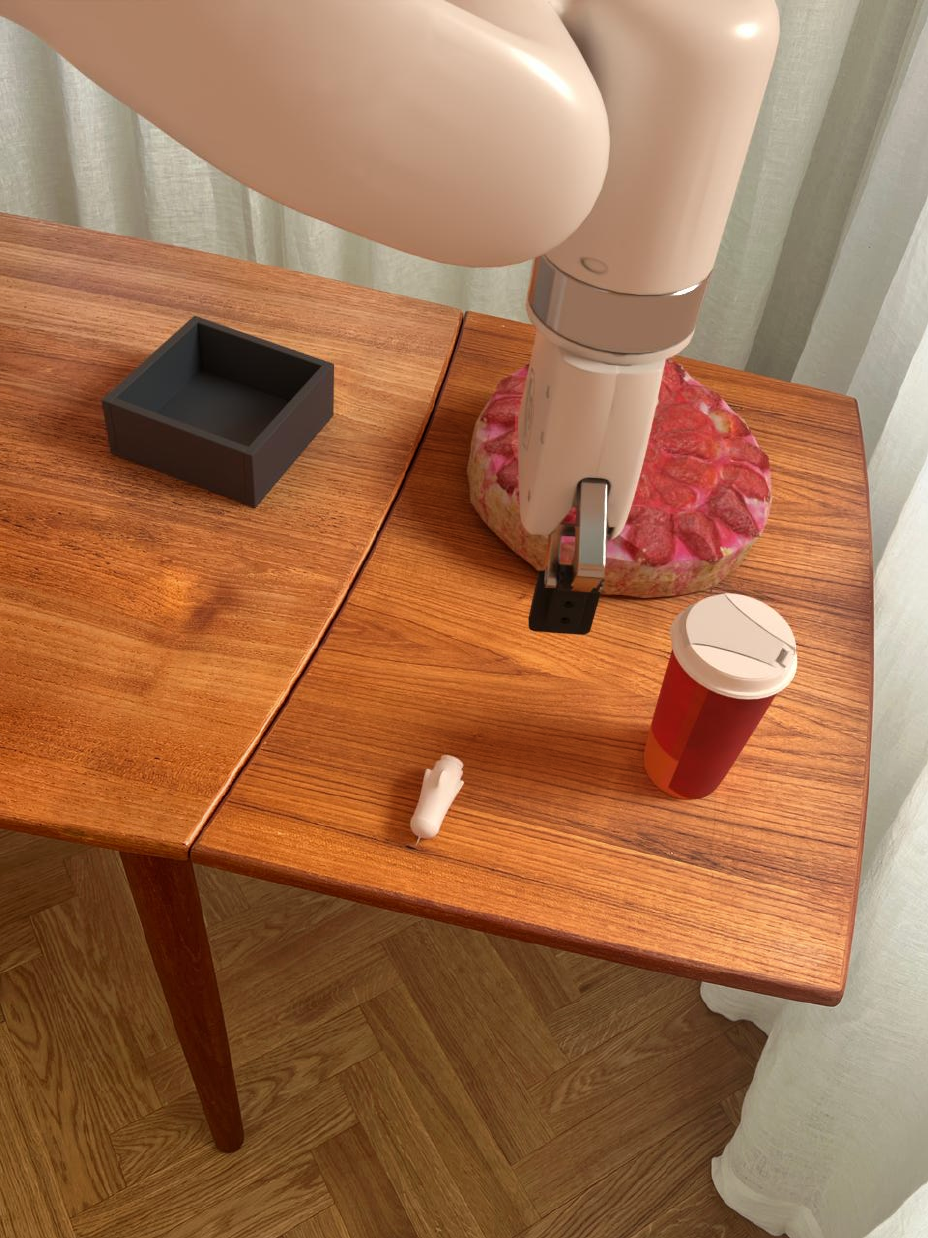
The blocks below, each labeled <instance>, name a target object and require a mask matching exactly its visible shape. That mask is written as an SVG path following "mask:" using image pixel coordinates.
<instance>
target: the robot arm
mask: <svg viewBox="0 0 928 1238" xmlns="http://www.w3.org/2000/svg"><path fill="white" fill-rule="evenodd" d="M0 17H2V18H5V19H6V20H7V21H10V22H12V23H14V24H15V25H17V26H20V27H21V28H24V29H25V30H28V31H29V32H31V33H32V34H33V35H35V36H36V37H38V38H39V39H41V40H42V41H43V42H44V43H45V44H46V45H48V46H49V47H50V48H52V50H53V51H55V52H56V53H57V54H59V56H61V57H62V58H63V59H64V60H65V61H67V62H68V63H69V64H70V65H72V66H73V67H74V68H75V69H76V70H78V71H79V73H81V74H82V75H83V76H85V77H86V78H87V79H89V80H90V81H91V82H92V83H94V84H95V85H96V86H98V87H99V88H100V89H101V90H103V91H105V92H106V93H107V94H109V95H110V96H111V97H113V98H114V99H116V100H118V101H119V102H120V103H121V104H122V105H125V106H126V107H127V108H129V109H131V110H132V111H133V112H134V113H136V114H138V115H140V116H141V117H143V118H144V119H145V120H147V121H148V122H149V123H150V124H152V125H153V126H155V127H156V128H157V129H159V130H160V131H162V132H163V133H164V134H166V135H167V136H169V137H170V138H171V139H173V140H174V141H175V142H177V143H178V144H180V145H181V146H182V147H184V148H185V149H187V150H188V151H189V152H191V153H192V154H194V155H196V157H198V158H200V159H202V160H203V161H204V162H206V163H207V164H209V165H211V166H212V167H214V168H215V169H217V170H218V171H220V172H221V173H223V174H225V175H227V176H228V177H230V178H232V179H233V180H235V181H237V182H238V183H240V184H242V185H244V186H245V187H247V188H248V189H251V190H253V191H254V192H256V193H258V194H261V195H262V196H263V197H266V198H268V199H270V200H272V201H274V202H276V203H277V204H279V205H282V206H285V207H287V208H289V209H291V210H294V211H295V212H297V213H300V214H302V215H305V216H307V217H310V218H313V219H315V220H318V221H320V222H322V223H323V222H324V223H326V224H329V225H330V226H333V227H336V228H337V229H340V230H344V231H347V232H349V233H351V234H354V235H356V236H359V237H362V238H365V239H367V240H370V241H373V242H375V243H378V244H380V245H383V246H386V247H388V248H391V249H394V250H397V251H399V252H403V253H405V254H408V255H412V256H415V257H418V258H421V259H425V260H427V261H432V262H436V263H440V264H444V265H451V266H458V267H464V268H473V269H477V268H479V269H480V268H482V269H484V268H485V269H486V268H503V267H509V266H515V265H519V264H522V263H525V262H528V261H530V260H532V261H531V268H530V275H529V281H528V286H527V292H526V298H525V310H526V314H527V317H528V318H529V321H530V323H531V324H532V325H533V326H534V328H535V330H536V331H535V336H534V339H533V346H532V350H531V351H532V352H531V355H530V360H529V363H530V364H529V363H528V364H529V369H528V374H527V378H526V383H525V387H524V392H523V396H522V401H521V406H520V412H519V420H518V469H519V498H520V516H521V522H522V524H523V526H524V528H525V529H526V530H527V531H528V532H529V533H530V534H532V535H535V534H538V535H545V536H548V543H547V554H546V565H545V570H543V571H541V570H539V571H537V576H536V580H535V585H534V591H533V595H532V599H531V603H530V609H529V613H528V619H527V621H528V622H527V623H528V629H529V630H530V631H532V632H537V633H549V634H550V633H551V634H564V635H578V636H585V635H588V634H589V633H590V632H591V630H592V626H593V623H594V619H595V616H596V612H597V609H598V605H599V601H600V597H601V595H602V594H601V591H602V588H603V583H604V573H605V563H606V553H607V543H608V540H609V541H611V540H613V539H614V538H616V537H617V536H618V535H619V534H620V533H621V532H622V530H623V528H624V526H625V523H626V521H627V518H628V515H629V512H630V509H631V506H632V502H633V499H634V496H635V492H636V488H637V484H638V481H639V477H640V473H641V469H642V465H643V461H644V457H645V453H646V449H647V445H648V440H649V436H650V432H651V427H652V423H653V418H654V414H655V409H656V407H657V405H658V395H659V390H660V386H661V381H662V376H663V371H664V366H665V361H666V359H668V360H669V359H670V358H673V357H675V356H676V355H678V354H680V353H681V352H683V350H685V348H687V346H688V345H689V344H690V343H691V341H692V339H693V338H694V337H693V336H694V333H695V330H696V327H697V324H698V320H699V317H700V314H701V310H702V308H703V307H702V306H703V303H704V301H705V297H706V293H707V290H708V287H709V284H710V280H711V277H712V273H713V270H714V266H715V263H716V259H717V255H718V253H719V249H720V245H721V242H722V239H723V235H724V232H725V229H726V226H727V221H728V218H729V215H730V211H731V209H732V205H733V201H734V198H735V194H736V193H737V188H738V186H739V185H738V184H739V182H740V178H741V174H742V172H743V167H744V165H745V161H746V157H747V155H748V151H749V147H750V144H751V140H752V138H753V133H754V131H755V127H756V123H757V120H758V117H759V113H760V110H761V107H762V103H763V100H764V96H765V94H766V90H767V86H768V82H769V79H770V76H771V72H772V70H773V66H774V62H775V58H776V55H777V50H778V45H779V41H780V34H781V23H780V22H781V21H780V11H779V9H778V6H777V2H776V0H0ZM572 508H576V523H568V522H562V520H563V519H564V518H565V517H566V516H567V514H568V513H569V512H570V511H571V509H572ZM562 536H570V537H575V550H574V557H573V560H572V564H571V565H565V564H559V563H560V552H561V542H562Z"/></svg>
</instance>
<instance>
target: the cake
mask: <svg viewBox="0 0 928 1238" xmlns="http://www.w3.org/2000/svg"><path fill="white" fill-rule="evenodd" d="M529 364H530V362H528V363H527V364H526V365H525V366H523V367H521V368H520V369H518V370H516V371H515V372H514V373H513V372H512V373H511V374H510V375H508V376H506V377H503V378H502V379H499V380H498V384H497V386H496V388H495V390H494V392H493V394H492V395H491V397H490V398H489V400H488V401H487V403H486V404H485V406H484V407H483V408H482V410H481V412H480V414H479V416H478V417H477V420H476V422H475V424H474V427H473V433H472V436H471V442H470V452H469V456H468V462H467V467H466V476H467V481H468V484H469V502H470V503H471V505H472V507H473V508H474V510H475V511H476V513H477V514H478V516H479V517H480V519H481V520H482V521H483V522H484V523H485V524H486V526H487V527H488V528H489V530H491V531H492V532H493V533H494V534H495V535H496V536H497V537H498V538H499V539H500V541H502V542H503V543H504V544H505V545H507V547H508V548H509V549H511V550H512V551H513V552H514V553H515V554H516V555H517V556H519V557H520V558H522V559H523V560H525V561H526V562H527V563H529V564H530V565H531V566H532V567H533V568H534V569H535V570H536V571H537V572H538V571H539V570H541V571H543V570H545V565H546V554H547V543H548V536H545V535H538V534H535V535H532V534H530V533H529V532H528V531H527V530H526V529H525V528H524V526H523V524H522V522H521V516H520V498H519V469H518V420H519V412H520V406H521V401H522V396H523V392H524V387H525V383H526V378H527V374H528V369H529ZM771 478H772V477H771V469H770V459H769V455H768V454H767V453H765V452H764V450H763V449H762V448H761V447H760V446H759V444H758V441H757V440H756V438H755V435H754V434H753V432H752V430H751V429H750V427H749V425H748V423H747V422H746V420H745V418H743V417H742V416H740V415H739V414H738V413H737V412H735V411H734V410H733V409H732V408H731V407H730V406H729V405H728V403H727V402H726V401H725V400H724V398H723V397H722V396H721V395H720V394H719V393H718V392H716V391H714V390H713V389H711V388H709V387H708V386H705V385H704V384H702V383H700V382H699V381H697V380H696V379H694V378H693V377H692V376H691V375H690V374H689V373H688V371H687V369H686V368H684V366H683V365H682V364H681V363H679V362H677V361H674V360H671V359H669V358H668V359H666V361H665V366H664V371H663V376H662V381H661V386H660V390H659V395H658V405H657V407H656V409H655V414H654V418H653V423H652V427H651V432H650V436H649V440H648V445H647V449H646V453H645V457H644V461H643V465H642V469H641V473H640V477H639V481H638V484H637V488H636V492H635V496H634V499H633V502H632V506H631V509H630V512H629V515H628V518H627V521H626V523H625V526H624V528H623V530H622V532H621V533H620V534H619V535H618V536H617V537H616V538H614V539H613V540H611V541H609V540H608V543H607V553H606V563H605V573H604V583H603V588H602V591H601V594H600V595H603V596H604V595H605V596H613V595H614V596H619V595H620V596H627V597H628V596H629V597H635V598H640V599H641V598H642V599H648V598H649V599H650V598H660V597H661V598H662V597H672V596H682V595H686V594H693V593H697V592H701V591H705V590H709V589H713V588H715V587H717V585H718V584H720V582H722V581H723V580H724V579H725V578H726V577H727V576H728V575H729V574H731V573H732V572H734V571H735V570H736V569H738V568H739V567H740V566H741V565H742V562H743V561H744V559H745V557H746V556H747V555H748V553H749V552H750V550H751V549H752V548H753V546H754V545H755V544H756V543H757V542H758V540H759V539H760V538H761V537H762V534H763V532H764V529H765V527H766V525H767V522H768V519H769V516H770V513H771V509H772V508H771V507H772V502H773V487H772V479H771ZM562 522H568V523H576V508H572V509H571V511H570V512H569V513H568V514H567V516H566V517H565V518H564V519H563V520H562ZM574 550H575V537H570V536H562V542H561V552H560V563H559V564H565V565H571V564H572V560H573V557H574Z"/></svg>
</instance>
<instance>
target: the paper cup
mask: <svg viewBox="0 0 928 1238" xmlns="http://www.w3.org/2000/svg"><path fill="white" fill-rule="evenodd" d="M669 636H670V642H671V652H670V656H669V659H668V662H667V666H666V669H665V672H664V677H663V680H662V684H661V687H660V690H659V694H658V698H657V701H656V704H655V709H654V712H653V715H652V720H651V723H650V727H649V731H648V735H647V738H646V742H645V746H644V753H643V766H644V770H645V772H646V774H647V776H648V778H649V779H650V781H651V783H653V784H654V785H655V787H657V788H658V789H660V790H661V791H662V792H664V793H666V794H667V795H669V796H672V797H673V798H678V799H682V800H698V799H702V798H705V797H707V796H709V795H711V794H712V793H714V792H715V791H716V790H717V789H718V788H719V786H720V785H721V784H722V782H723V781H724V780H725V778H726V777H727V775H728V773H729V772H730V770H731V769H732V768H733V766H734V764H735V762H736V761H737V759H738V758H739V756H740V754H741V753H742V751H743V750H744V748H745V747H746V745H747V743H748V742H749V740H750V739H751V737H752V735H753V734H754V732H755V731H756V729H757V727H758V726H759V724H760V722H761V720H762V719H763V717H764V716H765V714H766V712H767V711H768V710H769V708H770V706H771V704H772V703H773V701H774V700H775V698H776V697H777V695H778V693H780V692H782V691H783V690H784V689H786V688H787V687H788V686H789V685H790V684H791V682H792V680H793V679H794V677H795V675H796V672H797V667H798V655H797V642H796V638H795V636H794V633H793V630H792V628H791V627H790V625H789V624H788V622H787V621H786V619H785V618H784V617H783V616H782V615H781V614H780V613H779V612H778V611H777V610H775V609H774V608H773V607H771V606H769V605H768V604H766V603H764V602H763V601H760V600H759V599H756V598H754V597H750V596H747V595H744V594H740V593H739V594H738V593H729V592H727V593H719V594H715V595H710V596H708V597H705V598H703V599H701V600H699V601H697V602H694V603H692V604H690V605H689V606H687V607H686V608H685V609H684V610H682V611H680V612H679V613H678V614H677V615H676V616H675V617H674V619H673V621H672V623H671V624H670V629H669Z"/></svg>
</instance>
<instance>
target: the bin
mask: <svg viewBox="0 0 928 1238" xmlns="http://www.w3.org/2000/svg"><path fill="white" fill-rule="evenodd" d="M100 402H101V406H102V414H103V418H104V424H105V429H106V435H107V441H108V446H109V452H110V454H112V455H115V456H118V457H119V458H123V459H125V460H127V461H131V462H133V463H136V464H139V465H140V466H144V467H146V468H148V469H152V470H154V471H156V472H159V473H162V474H165V475H168V476H170V477H172V478H175V479H178V480H180V481H183V482H186V483H188V484H190V485H194V486H196V487H199V488H201V489H204V490H207V491H209V492H211V493H214V494H218V495H220V496H222V497H225V498H228V499H231V500H234V501H237V502H238V503H241V504H243V505H246V506H249V507H251V508H255V509H256V508H257V506H258V505H259V504H260V503H261V502H262V501H263V500H264V498H265V497H266V496H267V495H268V494H269V493H270V491H271V490H272V489H273V488H274V487H275V486H276V484H277V483H278V481H280V480H281V478H282V477H283V476H284V474H286V472H287V471H288V470H289V469H290V468H291V466H292V465H293V464H294V463H295V462H296V460H297V459H298V458H299V457H300V456H301V455H302V454H303V452H304V451H305V450H306V449H307V447H308V446H309V445H310V444H311V443H312V442H313V440H315V438H316V437H317V435H318V434H319V433H320V432H321V431H322V430H323V428H325V426H327V424H328V423H329V422H330V420H331V419H332V418H333V417H334V415H335V414H334V413H335V410H334V409H335V408H334V407H335V363H334V362H330V361H327V360H324V359H322V358H318V357H316V356H313V355H310V354H307V353H304V352H301V351H299V350H296V349H292V348H290V347H286V346H283V345H281V344H278V343H275V342H272V341H271V340H267V339H263V338H261V337H258V336H256V335H253V334H249V333H247V332H244V331H240V330H237V329H235V328H232V327H229V326H227V325H224V324H220V323H218V322H215V321H212V320H210V319H206V318H203V317H200V316H198V315H193V316H192V317H191V318H190V319H189V320H188V321H187V322H185V323H184V324H182V326H181V327H180V328H178V329H177V330H176V332H174V333H173V334H172V335H171V336H170V337H169V338H168V339H167V340H165V341H164V342H163V343H162V344H161V345H160V346H159V347H158V348H156V350H154V351H153V352H152V353H151V354H149V356H148V357H147V358H145V359H144V360H143V361H142V362H141V363H140V364H138V366H137V367H136V368H135V369H133V370H132V371H131V372H130V373H129V374H128V375H127V376H125V378H124V379H122V381H120V382H119V383H118V384H117V385H116V386H114V387H113V388H112V389H111V390H110V391H109V392H108V393H106V395H105V396H103V397H102V398H101V400H100Z"/></svg>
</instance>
